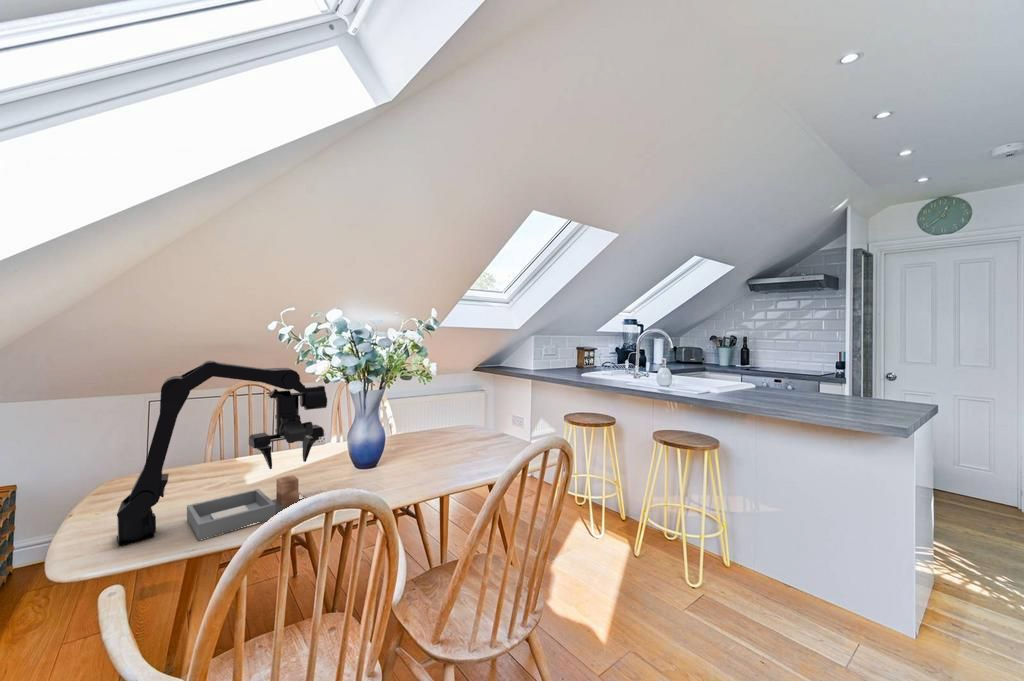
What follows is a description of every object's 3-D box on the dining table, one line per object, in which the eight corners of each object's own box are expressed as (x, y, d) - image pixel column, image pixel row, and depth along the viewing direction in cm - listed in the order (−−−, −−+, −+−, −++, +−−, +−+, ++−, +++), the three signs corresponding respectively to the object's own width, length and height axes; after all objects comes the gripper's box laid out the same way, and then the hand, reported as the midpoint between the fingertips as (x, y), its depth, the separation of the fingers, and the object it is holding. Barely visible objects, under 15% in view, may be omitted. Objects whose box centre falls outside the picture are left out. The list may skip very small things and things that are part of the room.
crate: (198, 541, 103) (198, 524, 103) (187, 520, 114) (186, 505, 113) (275, 518, 115) (275, 504, 115) (258, 502, 126) (258, 488, 126)
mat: (274, 515, 117) (274, 513, 117) (263, 504, 124) (263, 502, 124) (312, 504, 125) (312, 502, 125) (299, 494, 132) (299, 492, 132)
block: (281, 507, 121) (281, 482, 121) (276, 502, 124) (276, 478, 124) (298, 502, 124) (298, 479, 124) (292, 498, 128) (292, 475, 127)
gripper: (260, 421, 111) (260, 480, 112) (331, 411, 125) (331, 464, 125) (247, 414, 119) (248, 470, 120) (316, 406, 132) (316, 455, 133)
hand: (288, 465), depth 124 cm, fingers open, 9 cm apart
